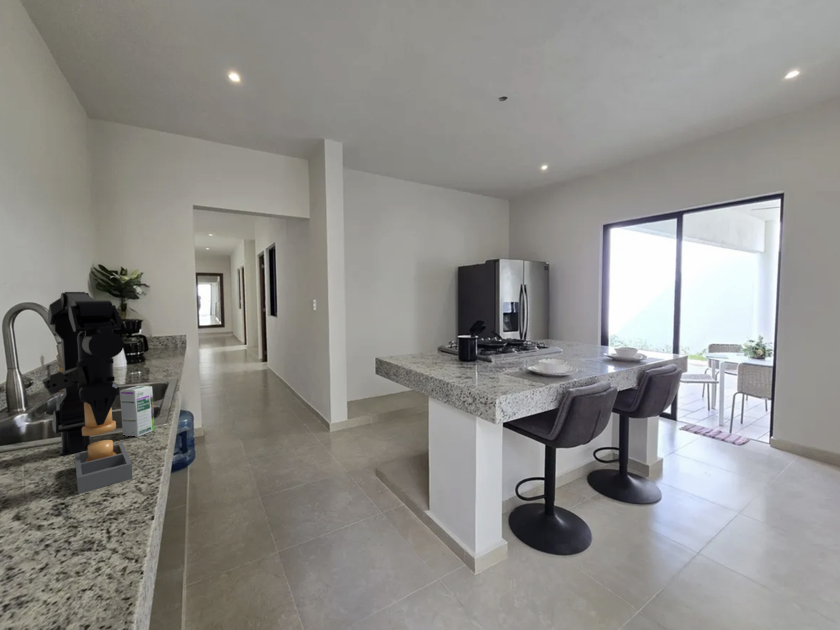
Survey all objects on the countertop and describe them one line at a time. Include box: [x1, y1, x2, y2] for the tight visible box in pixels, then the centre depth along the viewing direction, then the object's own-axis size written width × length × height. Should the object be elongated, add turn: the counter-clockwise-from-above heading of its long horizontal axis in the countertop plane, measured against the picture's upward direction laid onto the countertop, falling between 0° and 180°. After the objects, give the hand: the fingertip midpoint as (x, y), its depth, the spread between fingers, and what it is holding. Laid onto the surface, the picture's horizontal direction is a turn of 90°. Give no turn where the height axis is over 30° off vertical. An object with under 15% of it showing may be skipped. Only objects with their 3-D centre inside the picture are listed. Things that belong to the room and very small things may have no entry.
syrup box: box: [119, 384, 156, 438], centre depth 110 cm, size 6×6×14 cm
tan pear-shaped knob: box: [82, 402, 117, 437], centre depth 81 cm, size 6×6×7 cm
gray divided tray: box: [74, 439, 133, 495], centre depth 85 cm, size 17×9×6 cm, turn 45°
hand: (99, 422), depth 82 cm, fingers closed on tan pear-shaped knob, 5 cm apart
